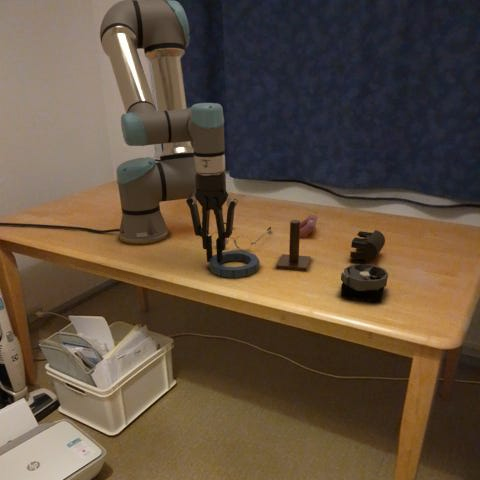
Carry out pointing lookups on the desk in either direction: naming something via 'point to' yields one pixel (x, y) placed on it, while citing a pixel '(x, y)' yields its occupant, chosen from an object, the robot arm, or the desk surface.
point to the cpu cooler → (363, 282)
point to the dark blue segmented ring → (234, 271)
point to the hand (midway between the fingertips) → (214, 260)
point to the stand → (294, 251)
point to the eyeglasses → (238, 236)
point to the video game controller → (308, 225)
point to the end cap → (367, 247)
